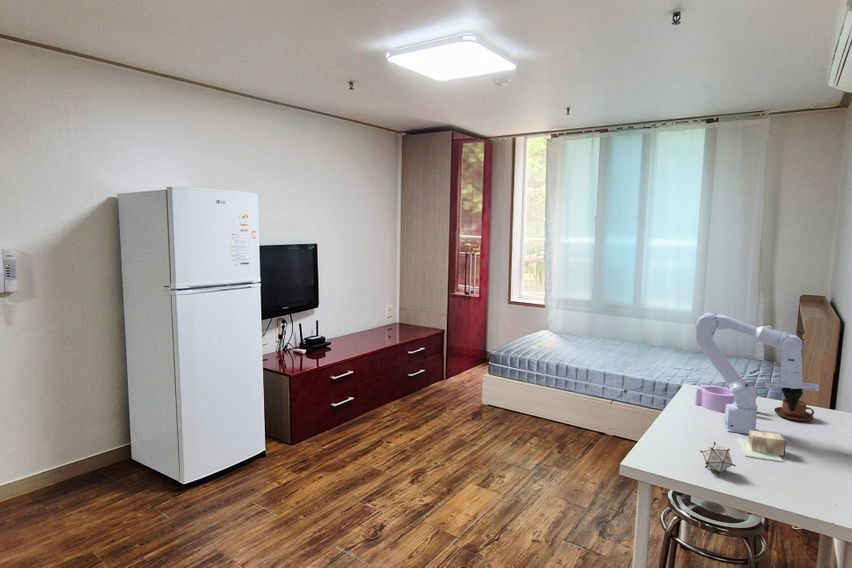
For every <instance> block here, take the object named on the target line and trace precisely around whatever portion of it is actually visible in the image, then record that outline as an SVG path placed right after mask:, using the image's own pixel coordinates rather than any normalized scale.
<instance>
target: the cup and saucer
mask: <svg viewBox="0 0 852 568" xmlns="http://www.w3.org/2000/svg"><path fill="white" fill-rule="evenodd" d="M781 404H782V405H781V406H778V407H775V408H774V412H775V413H776V414H777V415H778V416H780V417H782V418H785V419H788V420H790V421H791V420H792V421H800V422H807V421H810V420H813V419H814V415H815V410H814V409H813V408H812V407H808V406H807V403H806V402H804V401H803V400H800V399H799V401H798V403H797V405H796V409H795V411H790V410H789V408H788V404H787V401H786V398H783V399H782V403H781ZM807 410H811V413H810V412H808V411H807Z"/></svg>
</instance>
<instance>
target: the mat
mask: <svg viewBox="0 0 852 568" xmlns="http://www.w3.org/2000/svg"><path fill="white" fill-rule="evenodd" d="M735 439H736V441H737V444H738V446H739V448H740V450H741V451H742V454H743V455H744V457H747V458H751V459H753V458H754V459H758V460H765V461H773V462H780V463H783V462H784V461H783V459H782V458H781V455H777V454H770V453H763V452H756V451H751V449H750V447H749V445H748V439H746V438H739V437H738V438H737V437H736V438H735Z"/></svg>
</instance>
